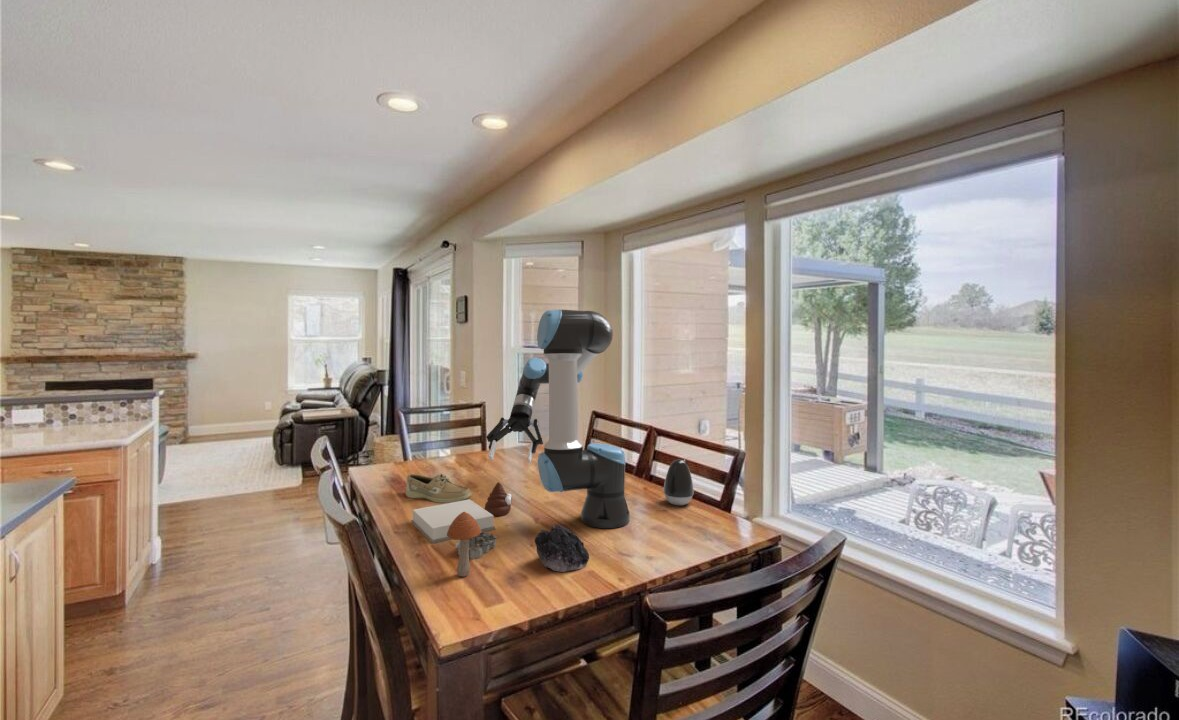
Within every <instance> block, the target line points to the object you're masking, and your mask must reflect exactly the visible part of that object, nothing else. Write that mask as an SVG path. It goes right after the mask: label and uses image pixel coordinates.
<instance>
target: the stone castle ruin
mask: <svg viewBox="0 0 1179 720" xmlns="http://www.w3.org/2000/svg"><path fill="white" fill-rule="evenodd" d="M498 537H499V535H494V534H493V533H492V532H491V533H489V532H487V531H485V532H481V533H480V535H479V536H477V537H475V538H472V539H469V550H468V553H469V560H475V559H481V558H483V554H488V553H489V551H490V549H495V548H496V543H497V542H496V541H497V540H498ZM455 543H456V544H455V549H456V548H457V555H458V556H459V555H460V540H456V542H455ZM475 544H476V545H475Z"/></svg>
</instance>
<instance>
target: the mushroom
mask: <svg viewBox="0 0 1179 720" xmlns="http://www.w3.org/2000/svg"><path fill="white" fill-rule="evenodd" d="M480 533H481V529H480V527H479V525H478V523H477V521H476V520H475V519H474V518H473V517H472V516H471V515H470V514H468V513H466V512H462V513H461V514H459V515H458V516H457V517H456V518H455V519H454V521H453V522H452V523H451V525H450V527H449V529H448V532H447V536H448V537H449V538H450V540H455V541H460V555H459V554H458V556H459V557H458V562H457V567H456V572H457V576H458V577H463V578H464V577H467V576H468V575H469V572H470V569H471V566H470V564H471V563H470V556H469V553H468V550H469V549H470V548H469V539H472V538H475V537H477V536H479V535H480Z"/></svg>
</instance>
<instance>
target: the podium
mask: <svg viewBox="0 0 1179 720" xmlns="http://www.w3.org/2000/svg"><path fill="white" fill-rule="evenodd" d="M462 512H466V513H468V514H470V515H471V516H472V517H473V518H474V519H475V520H476V521H477V523H478V525H479V527H480V529H481V532H488V531H489V532H490V531H493V530H496V526H495V524H494V523H495V516H494V515H492V514H491V513H489V512H488V511H486V510H485V508H483V507H482V506H480V505H479V504H477V503H476V502H475V501H473V500H472V499H469V498H467V499H465V500H462V501H457V502H452V503H440V504H436V505H431V506H426V507H425V506H424V507H419V508H415V509H412V519H411V524H412V525H413V526H414V527H415V528H417V530H418V531H419V532H420V533H421V534H422V535H423V536H424V537H425V538H426V539H427V540H428V541H429V542H430V543H431V544H436V543H440V542H441V543H442V542H444V541H449V540H451V539H450V538H449V537H448V536H447V532H448V529H449V527H450V525H451V523H452V522H453V521H454V519H455V518H456V517H457V516H458V515H459V514H461V513H462Z"/></svg>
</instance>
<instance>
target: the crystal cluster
mask: <svg viewBox="0 0 1179 720" xmlns="http://www.w3.org/2000/svg"><path fill="white" fill-rule="evenodd" d="M534 543H535V546H536V554H537V556H538V558H539V560H540V563H541V564H543V566H544V567H545V568H546V569H550V570H552V571H555V572H561V573H564V572H569V571H576V570H577V571H578V570H583V569H584V568H585V567H586V566H587V564H588V562H589V560H590V554H589V552H588V550H587V549H586V548H585V543H584V542H583V541H581V538H580V537H579V536H578V535H577V534H575V533H574V532H572V531H571V530H570V529H568V528H567V527H565V526H563V525H560V526H559V525H553V526H552V527H551V530H550V531H549V530H545V529H542V530H540V532H539V533H538V534H537V535H536V537H535V539H534Z"/></svg>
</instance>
